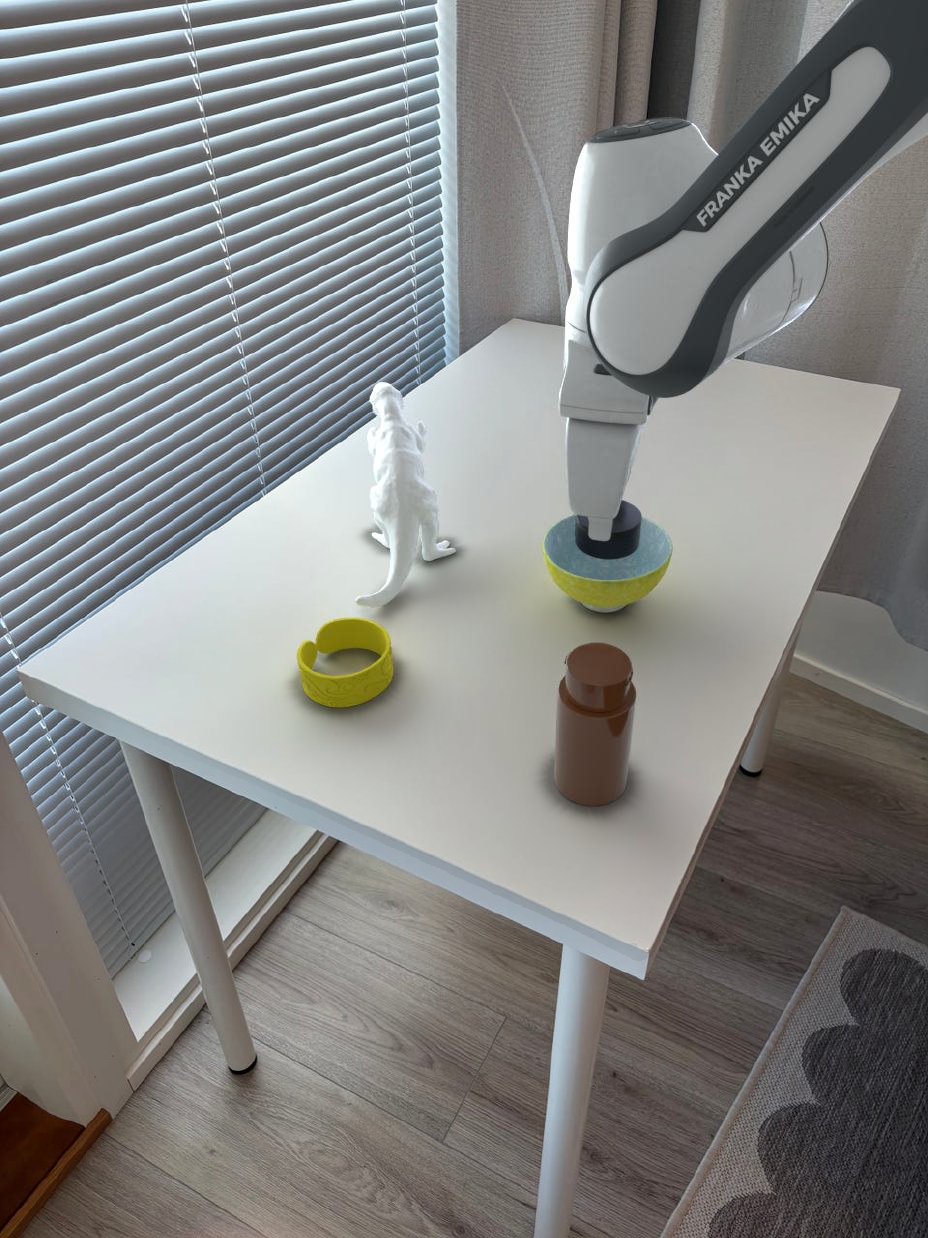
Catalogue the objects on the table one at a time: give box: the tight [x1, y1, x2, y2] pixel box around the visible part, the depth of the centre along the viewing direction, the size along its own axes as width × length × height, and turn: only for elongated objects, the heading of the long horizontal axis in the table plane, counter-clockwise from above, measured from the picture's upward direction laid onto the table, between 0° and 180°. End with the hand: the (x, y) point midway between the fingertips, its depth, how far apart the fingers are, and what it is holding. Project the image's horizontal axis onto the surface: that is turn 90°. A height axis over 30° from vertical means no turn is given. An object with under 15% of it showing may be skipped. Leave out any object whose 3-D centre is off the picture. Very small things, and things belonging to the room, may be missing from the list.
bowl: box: [542, 513, 674, 614], centre depth 86 cm, size 11×12×6 cm
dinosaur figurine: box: [354, 381, 457, 609], centre depth 89 cm, size 20×10×15 cm, turn 170°
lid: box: [575, 499, 643, 560], centre depth 83 cm, size 6×6×3 cm
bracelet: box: [296, 617, 394, 708], centre depth 80 cm, size 7×8×3 cm
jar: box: [553, 642, 637, 807], centre depth 67 cm, size 5×5×12 cm
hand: (610, 506), depth 82 cm, fingers open, 8 cm apart
